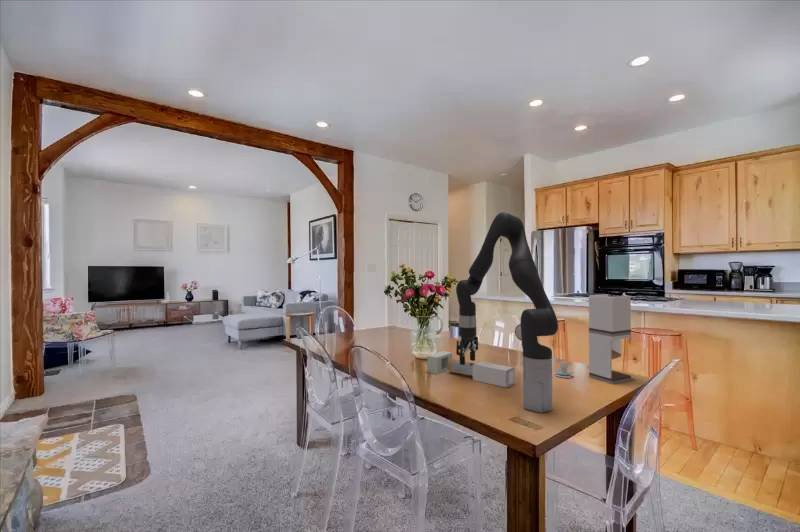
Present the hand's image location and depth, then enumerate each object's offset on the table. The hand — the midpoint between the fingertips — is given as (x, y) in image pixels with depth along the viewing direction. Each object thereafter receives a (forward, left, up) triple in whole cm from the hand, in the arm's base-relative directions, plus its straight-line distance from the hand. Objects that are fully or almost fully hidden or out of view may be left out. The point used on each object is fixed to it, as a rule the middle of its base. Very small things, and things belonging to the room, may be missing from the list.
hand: (467, 362), depth 159 cm
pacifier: (+26, -32, -6) cm, 42 cm away
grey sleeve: (-1, -12, -6) cm, 14 cm away
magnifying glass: (+32, -12, -6) cm, 35 cm away
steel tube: (-1, -4, -4) cm, 6 cm away
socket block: (-1, +14, -6) cm, 15 cm away
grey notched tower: (+34, -48, -6) cm, 59 cm away
